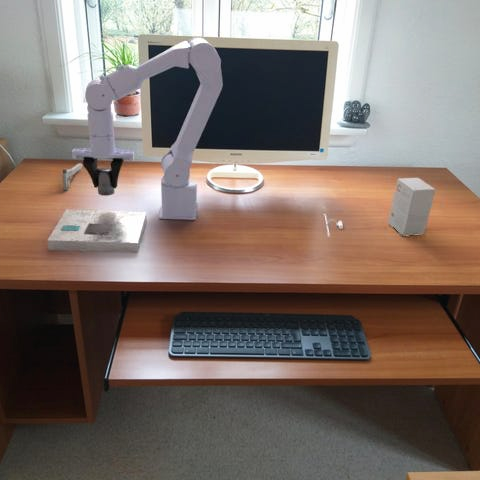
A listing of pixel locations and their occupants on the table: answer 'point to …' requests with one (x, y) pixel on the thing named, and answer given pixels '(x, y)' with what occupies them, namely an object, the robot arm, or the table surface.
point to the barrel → (105, 181)
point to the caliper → (69, 175)
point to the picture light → (340, 224)
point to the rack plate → (98, 231)
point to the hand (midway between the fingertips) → (105, 186)
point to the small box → (411, 206)
